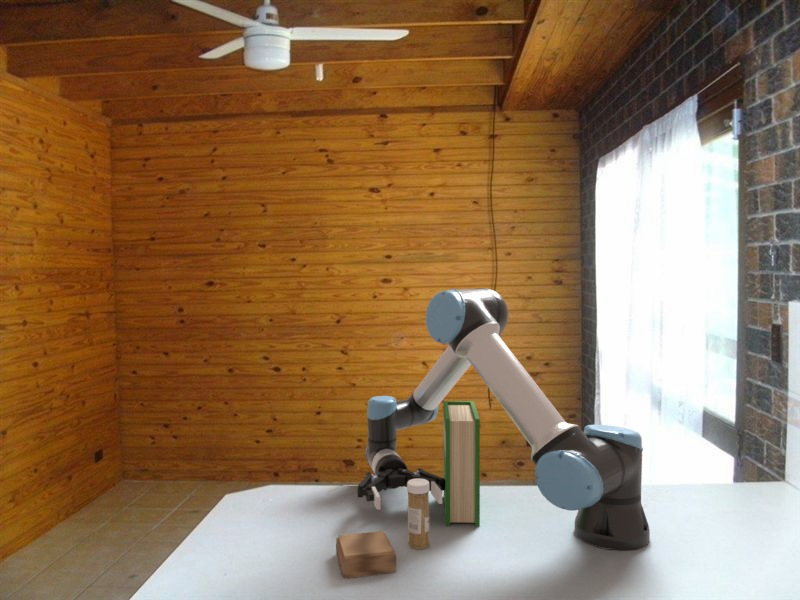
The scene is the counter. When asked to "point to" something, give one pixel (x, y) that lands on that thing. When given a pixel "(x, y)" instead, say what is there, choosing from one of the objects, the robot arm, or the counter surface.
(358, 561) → the walnut base
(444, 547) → the counter surface
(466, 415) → the hardback book
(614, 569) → the counter surface
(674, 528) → the counter surface
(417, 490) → the sprinkles bottle
